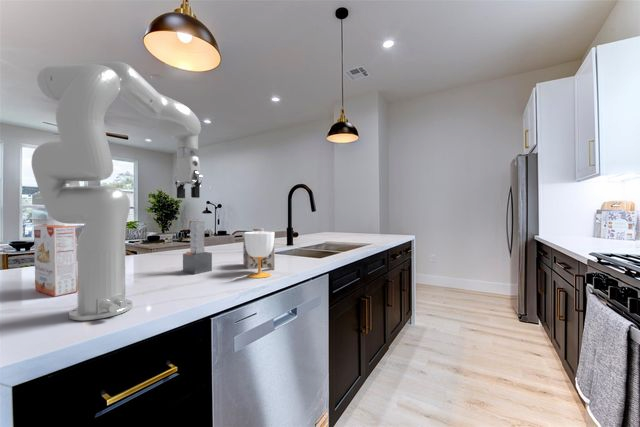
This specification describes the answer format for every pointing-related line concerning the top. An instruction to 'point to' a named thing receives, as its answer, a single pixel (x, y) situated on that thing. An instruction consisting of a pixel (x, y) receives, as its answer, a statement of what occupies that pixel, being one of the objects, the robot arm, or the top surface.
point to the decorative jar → (252, 262)
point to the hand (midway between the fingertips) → (188, 197)
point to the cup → (259, 248)
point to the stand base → (197, 263)
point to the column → (197, 237)
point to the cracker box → (55, 259)
